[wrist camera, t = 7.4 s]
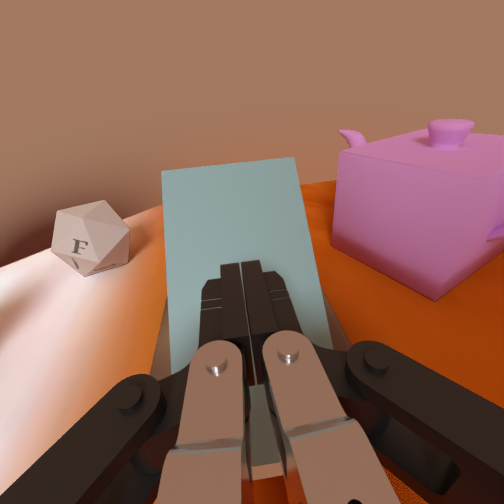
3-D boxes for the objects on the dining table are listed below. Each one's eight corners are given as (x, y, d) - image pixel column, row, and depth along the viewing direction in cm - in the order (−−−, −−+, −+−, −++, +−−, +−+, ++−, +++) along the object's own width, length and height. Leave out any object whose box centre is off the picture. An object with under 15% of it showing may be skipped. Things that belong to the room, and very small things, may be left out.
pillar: (325, 425, 17) (283, 195, 21) (356, 462, 12) (293, 156, 17) (197, 446, 17) (180, 207, 21) (177, 493, 12) (161, 170, 16)
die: (57, 276, 35) (17, 243, 26) (87, 220, 39) (60, 176, 30) (123, 290, 36) (105, 264, 27) (145, 235, 40) (135, 196, 31)
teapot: (364, 199, 46) (378, 106, 39) (567, 267, 28) (668, 115, 20) (294, 226, 40) (295, 121, 33) (497, 336, 22) (606, 155, 14)
